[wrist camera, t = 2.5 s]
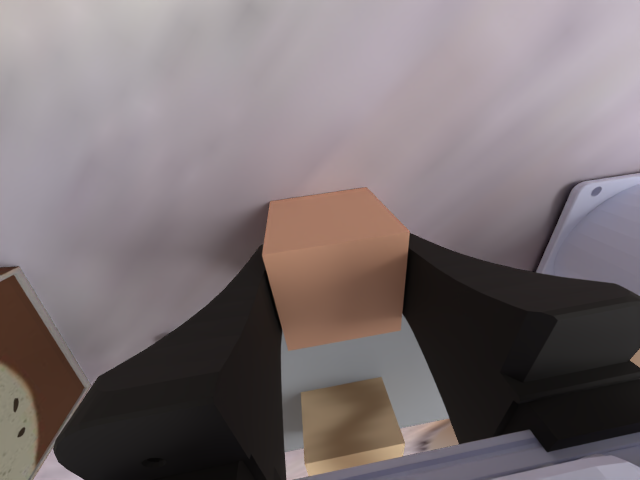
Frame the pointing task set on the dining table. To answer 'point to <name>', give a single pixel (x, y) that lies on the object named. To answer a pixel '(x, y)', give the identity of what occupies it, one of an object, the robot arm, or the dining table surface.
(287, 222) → the terracotta block
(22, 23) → the dining table surface
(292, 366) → the slate board
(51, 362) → the food container
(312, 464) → the oak base block
